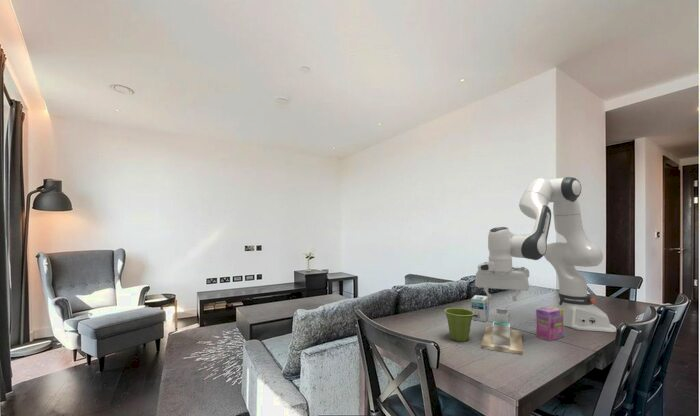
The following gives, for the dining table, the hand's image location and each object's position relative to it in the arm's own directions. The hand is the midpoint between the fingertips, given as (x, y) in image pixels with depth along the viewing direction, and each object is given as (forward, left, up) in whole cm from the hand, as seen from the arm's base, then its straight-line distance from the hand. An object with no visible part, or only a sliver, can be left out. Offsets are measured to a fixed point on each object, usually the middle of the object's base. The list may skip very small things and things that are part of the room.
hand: (501, 299), depth 131 cm
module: (0, 0, -15) cm, 15 cm away
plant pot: (+16, +6, -17) cm, 24 cm away
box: (-18, -14, -17) cm, 28 cm away
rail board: (0, 0, -17) cm, 17 cm away
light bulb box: (+11, -30, -17) cm, 36 cm away
